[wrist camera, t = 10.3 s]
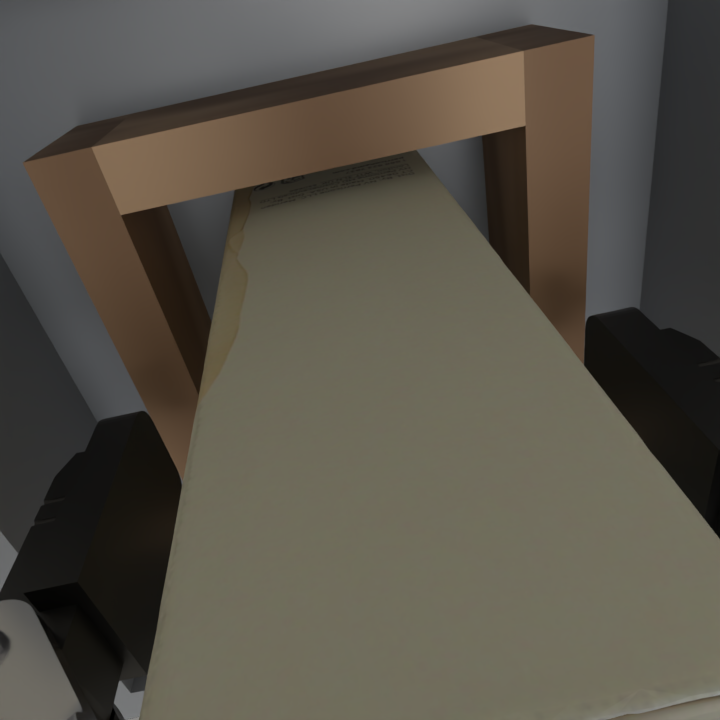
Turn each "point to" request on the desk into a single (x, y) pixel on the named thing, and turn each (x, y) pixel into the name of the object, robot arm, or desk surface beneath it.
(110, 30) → the open box
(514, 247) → the square socket
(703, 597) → the skincare box
